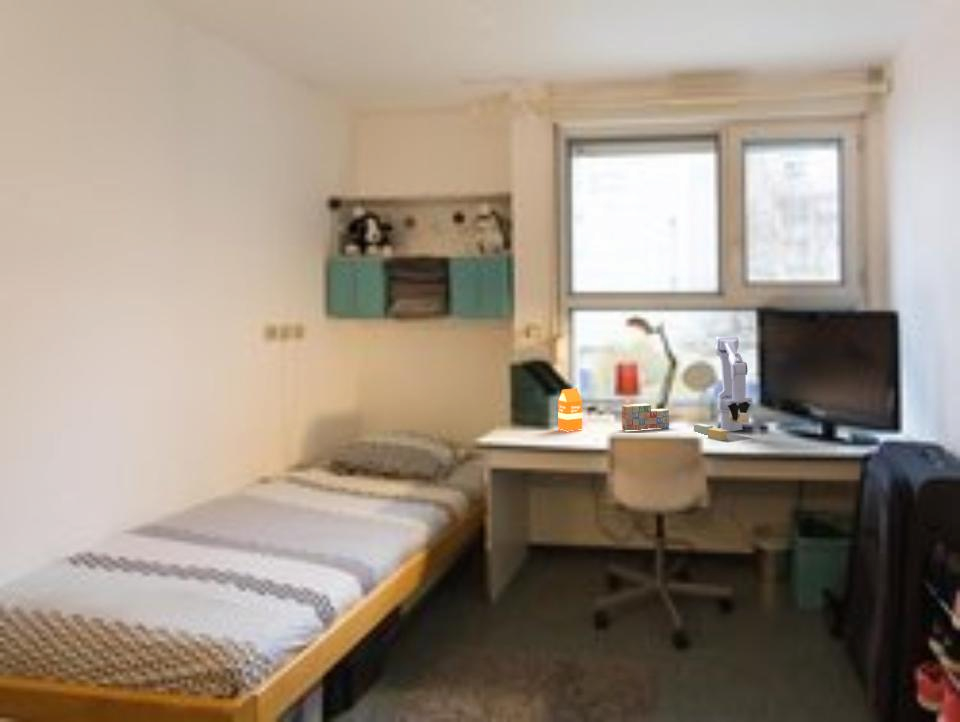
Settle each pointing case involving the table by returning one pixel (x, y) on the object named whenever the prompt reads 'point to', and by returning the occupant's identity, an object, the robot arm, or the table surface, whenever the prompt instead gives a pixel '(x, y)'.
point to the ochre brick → (717, 434)
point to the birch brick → (740, 417)
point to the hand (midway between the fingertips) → (738, 419)
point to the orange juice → (570, 410)
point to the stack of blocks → (643, 417)
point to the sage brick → (702, 428)
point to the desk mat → (733, 438)
